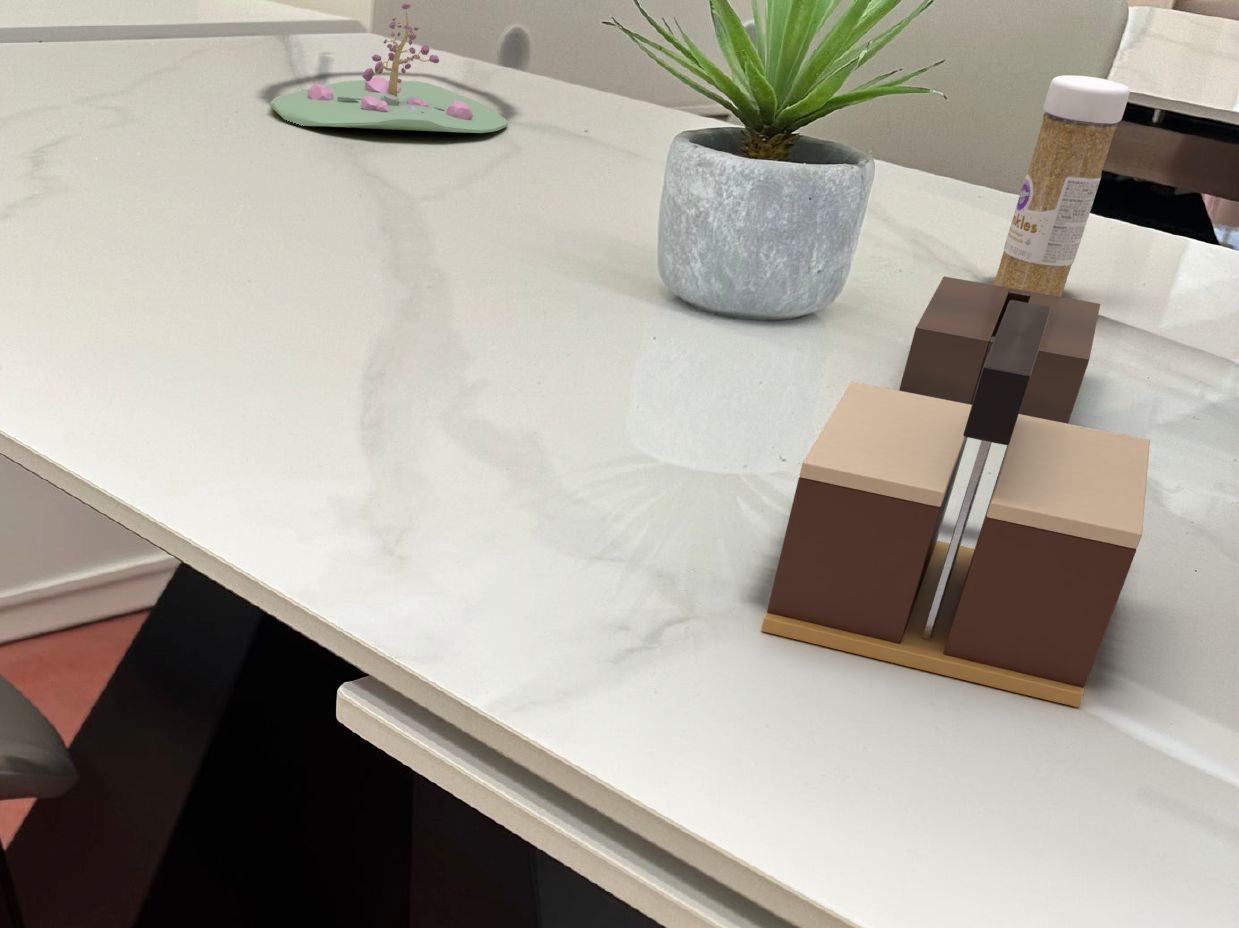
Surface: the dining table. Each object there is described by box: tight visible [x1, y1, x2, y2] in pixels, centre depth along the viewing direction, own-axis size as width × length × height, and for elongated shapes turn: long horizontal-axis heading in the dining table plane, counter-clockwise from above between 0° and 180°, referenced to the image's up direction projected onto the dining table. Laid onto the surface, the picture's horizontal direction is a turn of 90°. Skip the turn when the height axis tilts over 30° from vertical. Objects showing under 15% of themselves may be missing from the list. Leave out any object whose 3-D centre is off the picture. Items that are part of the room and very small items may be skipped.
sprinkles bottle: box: [993, 74, 1131, 297], centre depth 101 cm, size 5×5×14 cm
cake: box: [760, 381, 1151, 708], centre depth 65 cm, size 12×12×7 cm
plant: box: [269, 2, 509, 134], centre depth 140 cm, size 25×21×9 cm
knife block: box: [898, 276, 1101, 424], centre depth 90 cm, size 12×9×4 cm
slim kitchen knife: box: [922, 300, 1051, 640], centre depth 63 cm, size 10×2×10 cm, turn 157°
